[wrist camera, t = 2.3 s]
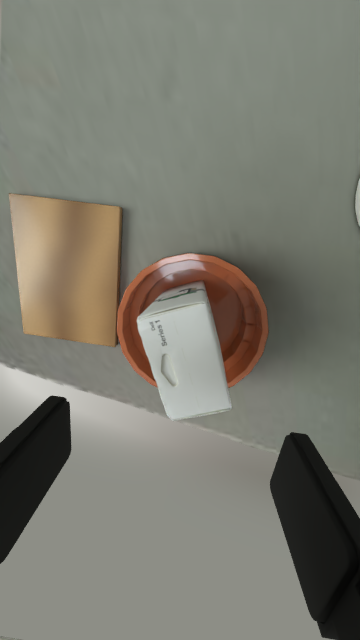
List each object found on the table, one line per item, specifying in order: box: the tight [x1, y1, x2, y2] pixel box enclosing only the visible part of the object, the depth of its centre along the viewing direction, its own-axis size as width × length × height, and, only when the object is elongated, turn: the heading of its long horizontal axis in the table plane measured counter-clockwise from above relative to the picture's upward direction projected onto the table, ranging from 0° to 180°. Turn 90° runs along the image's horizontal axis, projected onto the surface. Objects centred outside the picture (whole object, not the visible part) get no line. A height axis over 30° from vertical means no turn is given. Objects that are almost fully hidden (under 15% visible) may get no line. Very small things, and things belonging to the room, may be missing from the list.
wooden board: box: [9, 193, 122, 347], centre depth 25 cm, size 12×16×1 cm
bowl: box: [117, 253, 268, 388], centre depth 24 cm, size 15×15×5 cm
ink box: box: [137, 280, 232, 421], centre depth 20 cm, size 9×5×12 cm, turn 16°
